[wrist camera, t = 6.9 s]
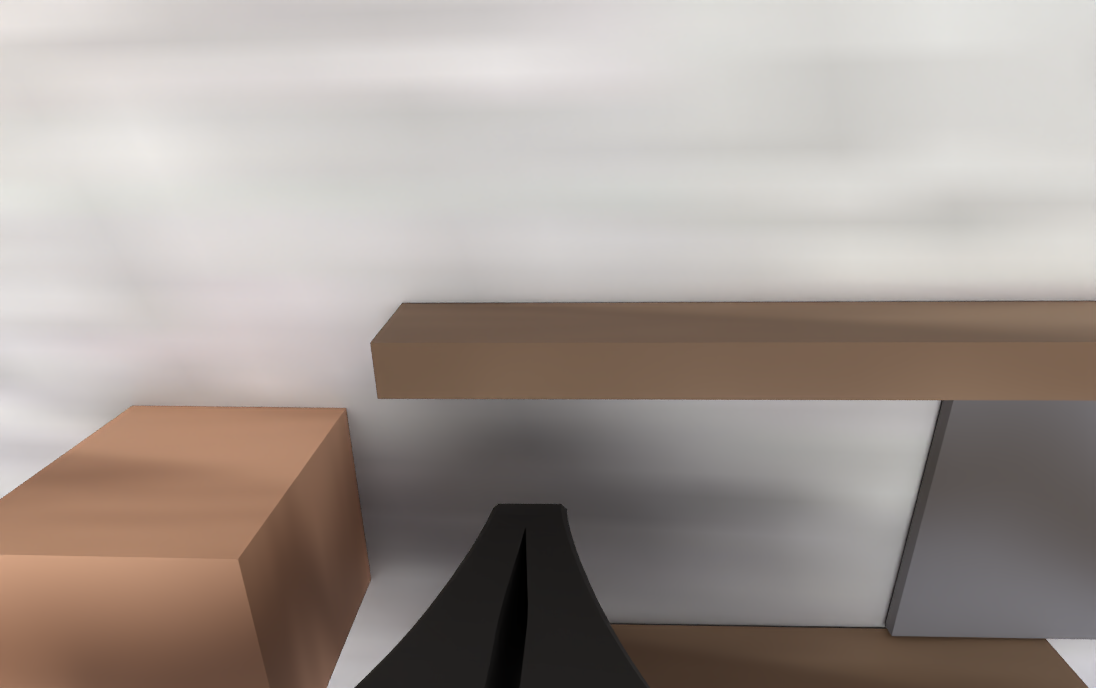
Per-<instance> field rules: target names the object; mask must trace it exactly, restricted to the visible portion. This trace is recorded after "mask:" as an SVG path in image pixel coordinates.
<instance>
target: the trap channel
mask: <svg viewBox="0 0 1096 688" xmlns="http://www.w3.org/2000/svg"><path fill="white" fill-rule="evenodd" d="M370 344H371V352H372V359H373V367H374V374H375V382H376V389H377V397H378V399H691V400H943V402H942V406H941V410H940V414H939V418H938V421H937V425H936V429H935V433H934V437H933V441H932V445H931V449H930V453H929V457H928V460H927V464H926V468H925V472H924V476H923V480H922V484H921V488H920V492H919V496H918V499H917V503H916V507H915V511H914V515H913V519H912V523H911V527H910V531H909V535H908V538H907V542H906V546H905V550H904V554H903V558H902V562H901V566H900V570H899V574H898V577H897V581H896V585H895V589H894V593H893V597H892V601H891V605H890V609H889V613H888V616H887V620H886V624H885V626H886V628H887V629H874V628H811V627H748V626H685V625H623V624H610V625H611V627H612V628H613V630H614V632H615V634H616V635H617V637H618V639H619V640H620V642H621V644H622V645H623V647H624V649H625V650H626V652H627V653H628V655H629V657H630V658H631V660H632V661H633V663H634V664H635V666H636V667H637V669H638V670H639V672H640V673H641V675H642V676H643V678H644V679H645V681H646V682H647V684H648V685H649V686H650V688H1088V687H1087V686H1086V684H1085V683H1084V682H1083V681H1082V680H1081V679H1080V678H1079V676H1078V675H1077V674H1076V673H1075V672H1074V671H1073V670H1072V668H1071V667H1070V666H1069V665H1068V664H1067V663H1066V662H1065V660H1064V659H1063V658H1062V657H1061V656H1060V655H1059V654H1058V652H1057V651H1056V650H1055V649H1054V648H1053V647H1052V646H1051V644H1050V643H1049V642H1048V641H1047V640H1046V639H1096V301H997V302H679V303H402V304H401V305H400V307H399V308H398V309H397V310H396V312H395V313H394V314H393V315H392V317H391V318H390V319H389V320H388V322H387V323H386V324H385V325H384V326H383V328H382V329H381V330H380V331H379V333H378V334H377V335H376V336H375V338H374V339H373V340H372V341H371V343H370Z"/></svg>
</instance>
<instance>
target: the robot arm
mask: <svg viewBox="0 0 1096 688" xmlns="http://www.w3.org/2000/svg"><path fill="white" fill-rule="evenodd" d="M355 688H650V686H649V685H648V684H647V682H646V681H645V679H644V678H643V676H642V675H641V673H640V672H639V670H638V669H637V667H636V666H635V664H634V663H633V661H632V660H631V658H630V657H629V655H628V653H627V652H626V650H625V649H624V647H623V645H622V644H621V642H620V640H619V639H618V637H617V635H616V634H615V632H614V630H613V628H612V627H611V625H610V623H609V621H608V619H607V617H606V615H605V614H604V612H603V610H602V608H601V606H600V604H599V602H598V600H597V598H596V596H595V594H594V592H593V589H592V587H591V585H590V583H589V580H588V578H587V576H586V573H585V571H584V569H583V566H582V564H581V562H580V559H579V556H578V554H577V551H576V548H575V545H574V542H573V539H572V535H571V532H570V528H569V524H568V518H567V509H566V508H565V507H564V506H563V505H562V504H498V505H497V506H495V507H494V508H493V510H492V512H491V514H490V516H489V518H488V520H487V522H486V524H485V526H484V527H483V529H482V531H481V533H480V534H479V536H478V538H477V539H476V541H475V543H474V544H473V546H472V548H471V549H470V551H469V552H468V554H467V555H466V557H465V558H464V560H463V561H462V563H461V564H460V566H459V567H458V569H457V570H456V572H455V573H454V575H453V576H452V578H451V579H450V580H449V582H448V583H447V585H446V586H445V587H444V588H443V590H442V591H441V592H440V594H439V595H438V596H437V598H436V599H435V600H434V601H433V603H432V604H431V605H430V607H429V608H428V609H427V611H426V612H425V613H424V614H423V616H422V617H421V618H420V619H419V620H418V622H417V623H416V624H415V625H414V626H413V628H412V629H411V630H410V631H409V632H408V633H407V634H406V636H405V637H404V638H403V639H402V640H401V641H400V642H399V643H398V644H397V645H396V646H395V648H394V649H393V650H392V651H391V652H390V653H389V654H388V655H387V656H386V657H385V658H384V659H383V660H382V661H381V662H380V663H379V664H378V665H377V666H376V667H375V668H374V669H373V670H372V671H371V672H370V673H369V674H368V675H367V676H366V677H365V678H364V679H363V680H362V681H361V682H360V683H359V684H358V685H357V686H356V687H355Z"/></svg>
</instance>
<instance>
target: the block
mask: <svg viewBox="0 0 1096 688" xmlns="http://www.w3.org/2000/svg"><path fill="white" fill-rule="evenodd" d="M370 581H371V575H370V568H369V561H368V555H367V548H366V541H365V534H364V527H363V521H362V514H361V507H360V500H359V493H358V486H357V480H356V473H355V466H354V459H353V452H352V445H351V439H350V432H349V425H348V418H347V411H346V408H296V407H206V406H131V407H130V408H128V409H127V410H125V411H124V412H123V413H121V414H120V415H118V416H117V417H116V418H114V419H113V420H111V421H110V422H109V423H107V424H106V425H104V426H103V427H101V428H100V429H99V430H97V431H96V432H94V433H93V434H92V435H90V436H89V437H87V438H86V439H85V440H83V441H82V442H80V443H79V444H77V445H76V446H75V447H73V448H72V449H70V450H69V451H68V452H66V453H65V454H63V455H62V456H61V457H59V458H58V459H56V460H55V461H54V462H52V463H51V464H49V465H48V466H46V467H45V468H44V469H42V470H41V471H39V472H38V473H37V474H35V475H34V476H32V477H31V478H30V479H28V480H27V481H25V482H24V483H22V484H21V485H20V486H18V487H17V488H15V489H14V490H13V491H11V492H10V493H8V494H7V495H6V496H4V497H3V498H1V499H0V688H327V685H328V683H329V680H330V678H331V676H332V673H333V671H334V668H335V666H336V663H337V661H338V658H339V656H340V654H341V651H342V649H343V646H344V644H345V641H346V639H347V637H348V634H349V632H350V629H351V627H352V624H353V622H354V620H355V617H356V615H357V612H358V610H359V607H360V605H361V602H362V600H363V598H364V595H365V593H366V590H367V588H368V585H369V583H370Z"/></svg>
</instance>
